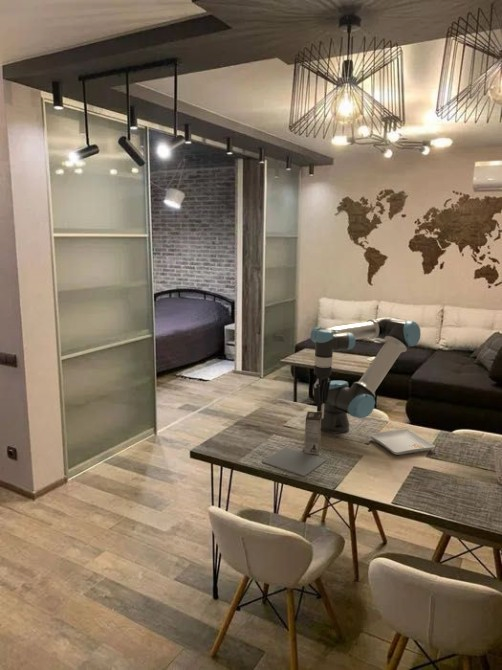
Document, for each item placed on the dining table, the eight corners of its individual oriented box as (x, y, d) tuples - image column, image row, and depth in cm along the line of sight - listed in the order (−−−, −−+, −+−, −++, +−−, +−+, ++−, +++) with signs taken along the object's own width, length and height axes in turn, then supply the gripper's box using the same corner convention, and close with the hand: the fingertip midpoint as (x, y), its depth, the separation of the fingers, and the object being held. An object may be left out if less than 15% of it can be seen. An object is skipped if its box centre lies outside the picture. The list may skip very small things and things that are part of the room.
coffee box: (306, 445, 224) (307, 410, 221) (320, 446, 223) (322, 412, 219) (303, 453, 215) (305, 418, 212) (319, 455, 214) (320, 419, 211)
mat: (285, 448, 220) (285, 447, 220) (326, 460, 208) (326, 459, 208) (262, 462, 205) (262, 461, 205) (304, 476, 194) (304, 475, 194)
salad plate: (394, 459, 212) (395, 451, 211) (367, 440, 232) (367, 433, 231) (436, 453, 219) (436, 445, 218) (406, 435, 239) (406, 428, 238)
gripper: (322, 361, 224) (319, 411, 228) (307, 366, 214) (305, 419, 218) (337, 364, 220) (334, 415, 224) (323, 369, 209) (320, 423, 214)
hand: (320, 417), depth 221 cm, fingers closed
